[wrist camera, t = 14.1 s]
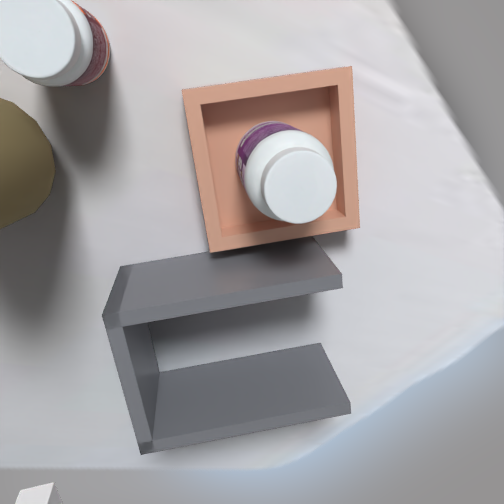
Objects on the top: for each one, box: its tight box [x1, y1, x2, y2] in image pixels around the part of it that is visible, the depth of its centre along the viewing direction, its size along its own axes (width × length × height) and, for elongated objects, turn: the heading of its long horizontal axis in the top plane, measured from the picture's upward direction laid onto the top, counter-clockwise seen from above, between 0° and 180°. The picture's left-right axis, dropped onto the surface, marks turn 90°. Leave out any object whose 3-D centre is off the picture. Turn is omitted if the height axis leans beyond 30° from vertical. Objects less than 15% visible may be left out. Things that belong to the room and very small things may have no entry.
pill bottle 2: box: [235, 121, 337, 224], centre depth 29 cm, size 5×5×10 cm
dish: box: [182, 66, 360, 253], centre depth 33 cm, size 11×11×3 cm
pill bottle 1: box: [0, 0, 110, 86], centre depth 26 cm, size 5×5×8 cm
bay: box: [102, 236, 351, 455], centre depth 34 cm, size 15×11×8 cm
